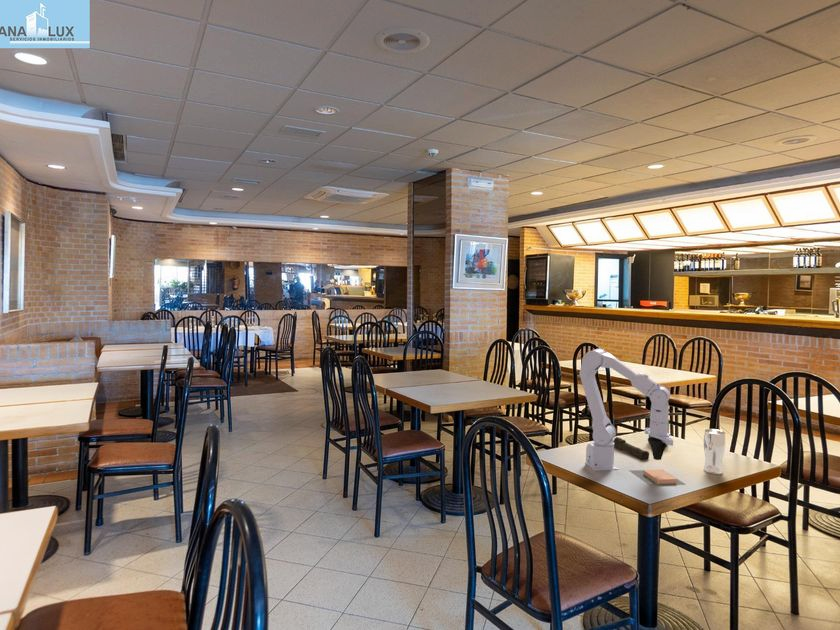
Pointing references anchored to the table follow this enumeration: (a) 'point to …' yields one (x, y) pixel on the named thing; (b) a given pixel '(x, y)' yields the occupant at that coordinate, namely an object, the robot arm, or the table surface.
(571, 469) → the table surface
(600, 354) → the robot arm
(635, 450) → the hand tool
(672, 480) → the tile
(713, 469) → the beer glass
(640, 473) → the mat
